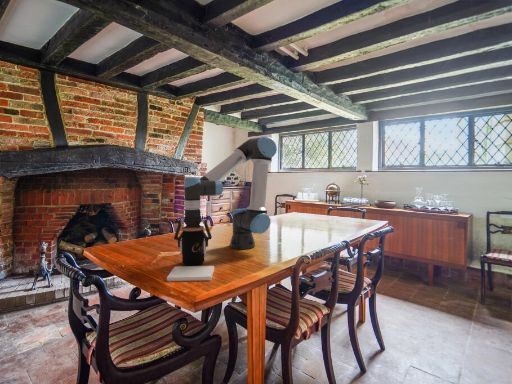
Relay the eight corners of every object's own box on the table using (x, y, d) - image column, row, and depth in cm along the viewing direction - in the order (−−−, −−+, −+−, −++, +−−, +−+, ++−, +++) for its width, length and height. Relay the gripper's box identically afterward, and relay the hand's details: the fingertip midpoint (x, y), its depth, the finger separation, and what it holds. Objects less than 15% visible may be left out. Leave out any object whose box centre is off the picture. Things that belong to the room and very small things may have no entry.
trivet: (214, 269, 134) (214, 265, 134) (210, 280, 120) (210, 276, 120) (174, 269, 133) (174, 266, 133) (166, 281, 119) (166, 277, 119)
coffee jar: (193, 268, 135) (193, 230, 134) (177, 264, 141) (176, 227, 140) (209, 262, 144) (208, 226, 143) (193, 259, 150) (192, 224, 149)
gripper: (166, 209, 137) (167, 256, 138) (215, 209, 138) (216, 255, 139) (170, 208, 144) (171, 251, 145) (217, 207, 145) (217, 251, 146)
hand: (193, 253), depth 142 cm, fingers closed on coffee jar, 11 cm apart
